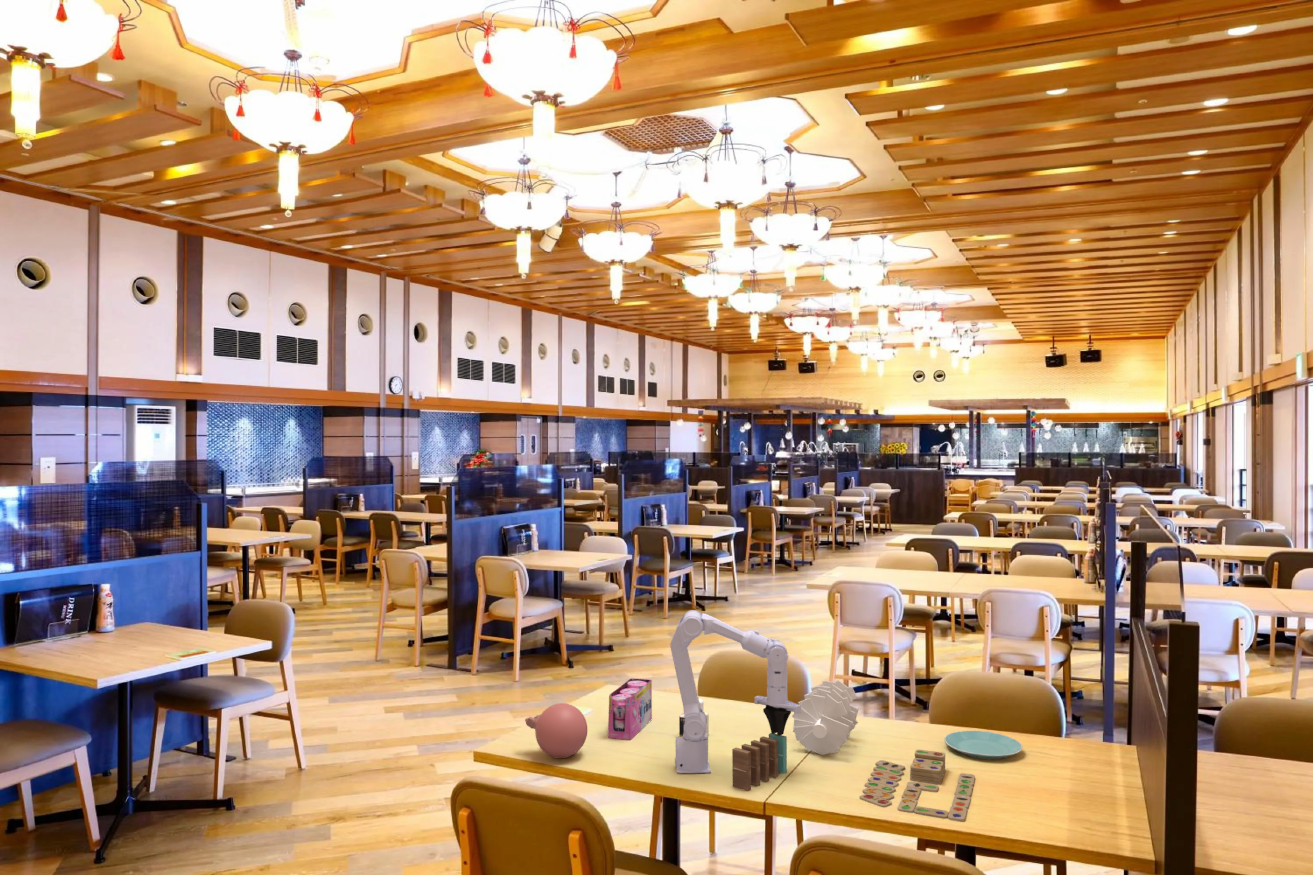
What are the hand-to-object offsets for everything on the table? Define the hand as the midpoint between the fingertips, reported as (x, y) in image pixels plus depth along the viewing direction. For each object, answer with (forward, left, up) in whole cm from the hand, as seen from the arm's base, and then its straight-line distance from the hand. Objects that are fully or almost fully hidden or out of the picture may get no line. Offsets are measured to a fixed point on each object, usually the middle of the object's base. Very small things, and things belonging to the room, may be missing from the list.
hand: (777, 733), depth 243 cm
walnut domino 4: (-3, -3, -10) cm, 11 cm away
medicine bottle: (-21, +31, -11) cm, 39 cm away
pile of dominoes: (+35, -15, -11) cm, 40 cm away
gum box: (-41, +40, -11) cm, 58 cm away
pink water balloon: (-64, +16, -11) cm, 67 cm away
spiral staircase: (+19, +21, -11) cm, 30 cm away
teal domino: (0, 0, -10) cm, 10 cm away
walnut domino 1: (-12, -12, -10) cm, 20 cm away
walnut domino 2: (-9, -9, -10) cm, 16 cm away
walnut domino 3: (-6, -6, -10) cm, 13 cm away
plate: (+65, +14, -11) cm, 67 cm away
